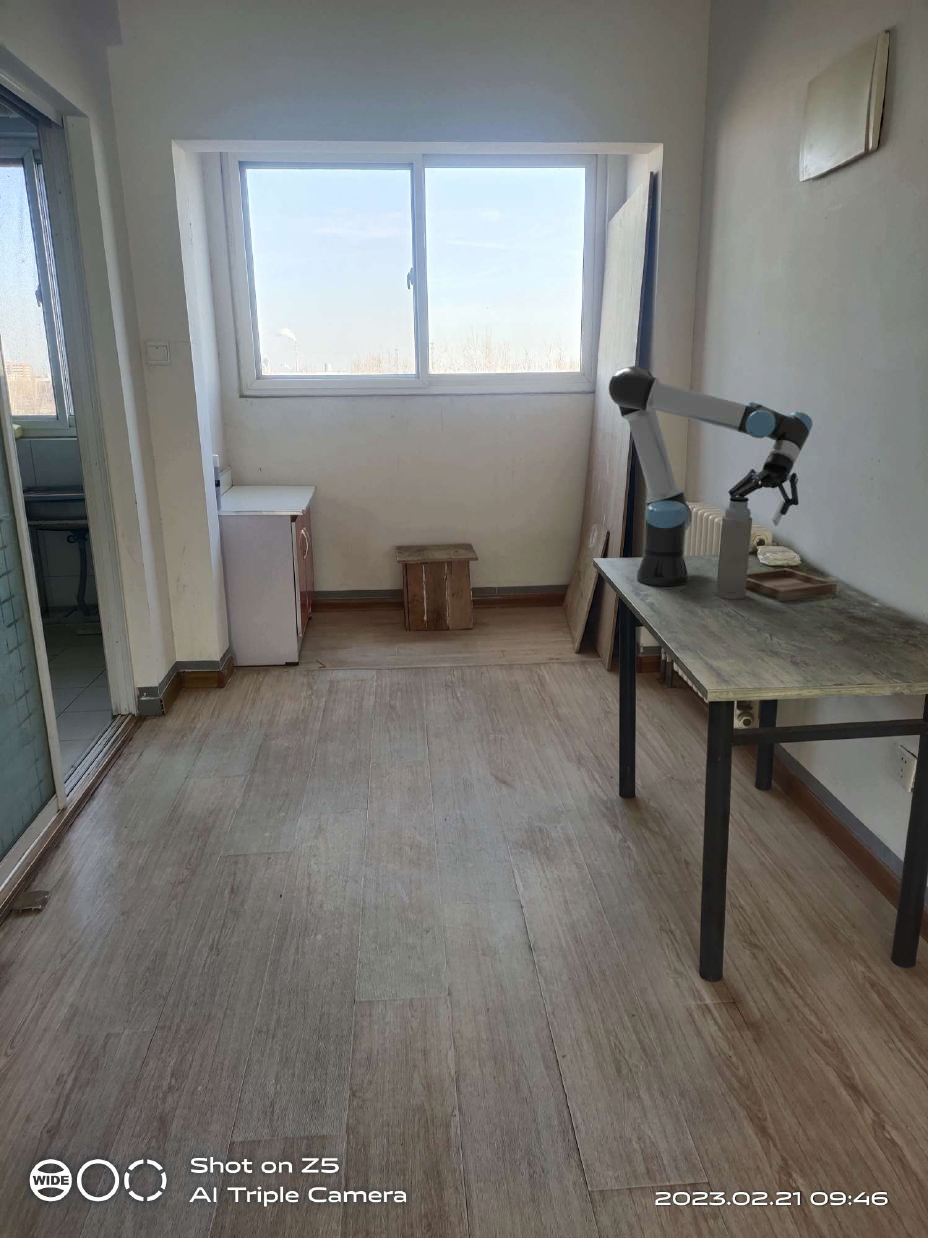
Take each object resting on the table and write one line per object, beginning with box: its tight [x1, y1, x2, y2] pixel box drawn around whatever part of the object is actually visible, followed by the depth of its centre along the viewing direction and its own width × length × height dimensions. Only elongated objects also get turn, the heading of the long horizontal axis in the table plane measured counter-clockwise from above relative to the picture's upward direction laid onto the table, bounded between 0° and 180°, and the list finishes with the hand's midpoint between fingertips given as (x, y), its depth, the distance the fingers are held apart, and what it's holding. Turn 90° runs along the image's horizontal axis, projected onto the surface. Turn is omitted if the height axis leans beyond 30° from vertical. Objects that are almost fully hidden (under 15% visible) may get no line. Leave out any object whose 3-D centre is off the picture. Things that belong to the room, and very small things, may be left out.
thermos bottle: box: [715, 496, 753, 600], centre depth 234 cm, size 8×8×28 cm
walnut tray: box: [746, 567, 838, 603], centre depth 243 cm, size 20×20×3 cm
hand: (751, 519), depth 235 cm, fingers open, 13 cm apart
